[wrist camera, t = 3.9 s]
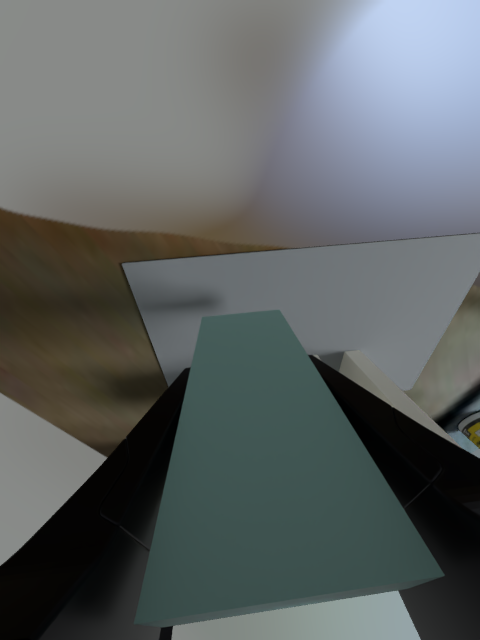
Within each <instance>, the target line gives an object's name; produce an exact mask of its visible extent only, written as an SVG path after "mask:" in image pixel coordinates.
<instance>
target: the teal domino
mask: <svg viewBox="0 0 480 640" xmlns="http://www.w3.org/2000/svg"><path fill="white" fill-rule="evenodd" d="M443 576H445V575H444V573H443V572H442V570H441V568H440V567H439V565H438V563H437V562H436V560H435V559H434V557H433V555H432V554H431V552H430V551H429V549H428V547H427V546H426V544H425V543H424V541H423V539H422V538H421V536H420V535H419V533H418V531H417V530H416V528H415V527H414V525H413V523H412V522H411V520H410V518H409V517H408V515H407V514H406V512H405V510H404V509H403V507H402V506H401V504H400V502H399V501H398V499H397V498H396V496H395V494H394V493H393V491H392V490H391V488H390V486H389V485H388V483H387V482H386V480H385V478H384V477H383V475H382V473H381V472H380V470H379V469H378V467H377V465H376V464H375V462H374V461H373V459H372V457H371V456H370V454H369V453H368V451H367V449H366V448H365V446H364V445H363V443H362V441H361V440H360V438H359V437H358V435H357V433H356V432H355V430H354V428H353V427H352V425H351V424H350V422H349V420H348V419H347V417H346V416H345V414H344V412H343V411H342V409H341V408H340V406H339V404H338V403H337V401H336V400H335V398H334V396H333V395H332V393H331V392H330V390H329V388H328V387H327V385H326V383H325V382H324V380H323V379H322V377H321V375H320V374H319V372H318V371H317V369H316V367H315V366H314V364H313V363H312V361H311V359H310V358H309V356H308V355H307V353H306V351H305V350H304V348H303V347H302V345H301V343H300V342H299V340H298V339H297V337H296V335H295V334H294V332H293V330H292V329H291V327H290V326H289V324H288V322H287V321H286V319H285V318H284V316H283V314H282V313H281V311H280V310H269V311H259V312H248V313H238V314H227V315H217V316H207V317H202V319H201V324H200V328H199V333H198V337H197V342H196V346H195V351H194V355H193V360H192V364H191V369H190V373H189V378H188V382H187V387H186V391H185V396H184V400H183V405H182V409H181V414H180V418H179V423H178V427H177V432H176V436H175V441H174V445H173V450H172V454H171V459H170V463H169V468H168V472H167V477H166V481H165V486H164V490H163V495H162V499H161V504H160V508H159V513H158V517H157V522H156V526H155V531H154V535H153V540H152V544H151V549H150V553H149V558H148V562H147V567H146V571H145V576H144V580H143V585H142V589H141V594H140V598H139V603H138V607H137V612H136V616H135V621H134V624H136V625H145V626H154V627H169V626H175V625H181V624H188V623H194V622H200V621H207V620H213V619H219V618H225V617H232V616H238V615H245V614H250V613H258V612H263V611H270V610H276V609H283V608H289V607H296V606H302V605H308V604H314V603H321V602H327V601H333V600H340V599H346V598H352V597H358V596H365V595H371V594H378V593H384V592H390V591H397V590H403V589H408V588H411V587H414V586H417V585H420V584H423V583H425V582H428V581H431V580H434V579H437V578H440V577H443Z"/></svg>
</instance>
